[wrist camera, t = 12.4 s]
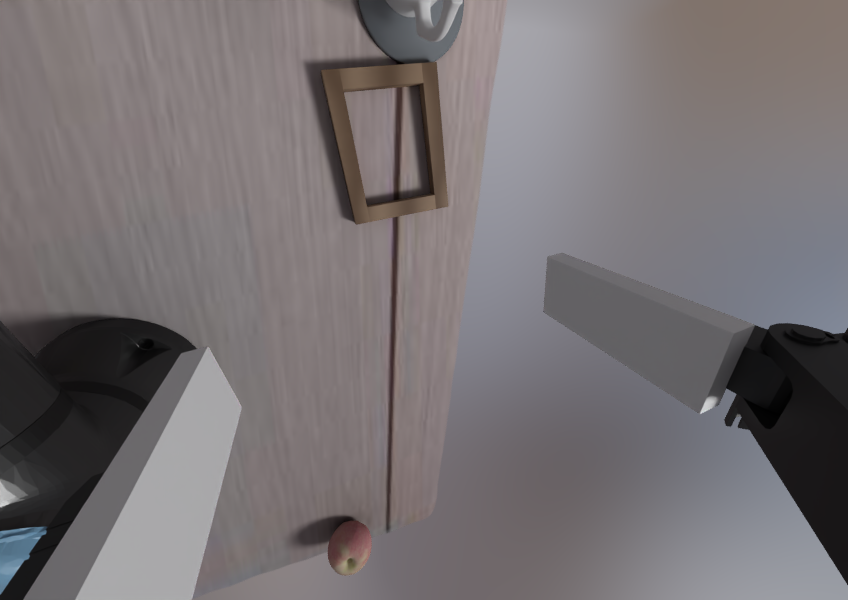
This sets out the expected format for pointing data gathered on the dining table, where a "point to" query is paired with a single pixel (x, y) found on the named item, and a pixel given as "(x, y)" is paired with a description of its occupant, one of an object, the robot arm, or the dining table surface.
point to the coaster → (406, 32)
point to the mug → (427, 16)
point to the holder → (334, 91)
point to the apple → (349, 547)
